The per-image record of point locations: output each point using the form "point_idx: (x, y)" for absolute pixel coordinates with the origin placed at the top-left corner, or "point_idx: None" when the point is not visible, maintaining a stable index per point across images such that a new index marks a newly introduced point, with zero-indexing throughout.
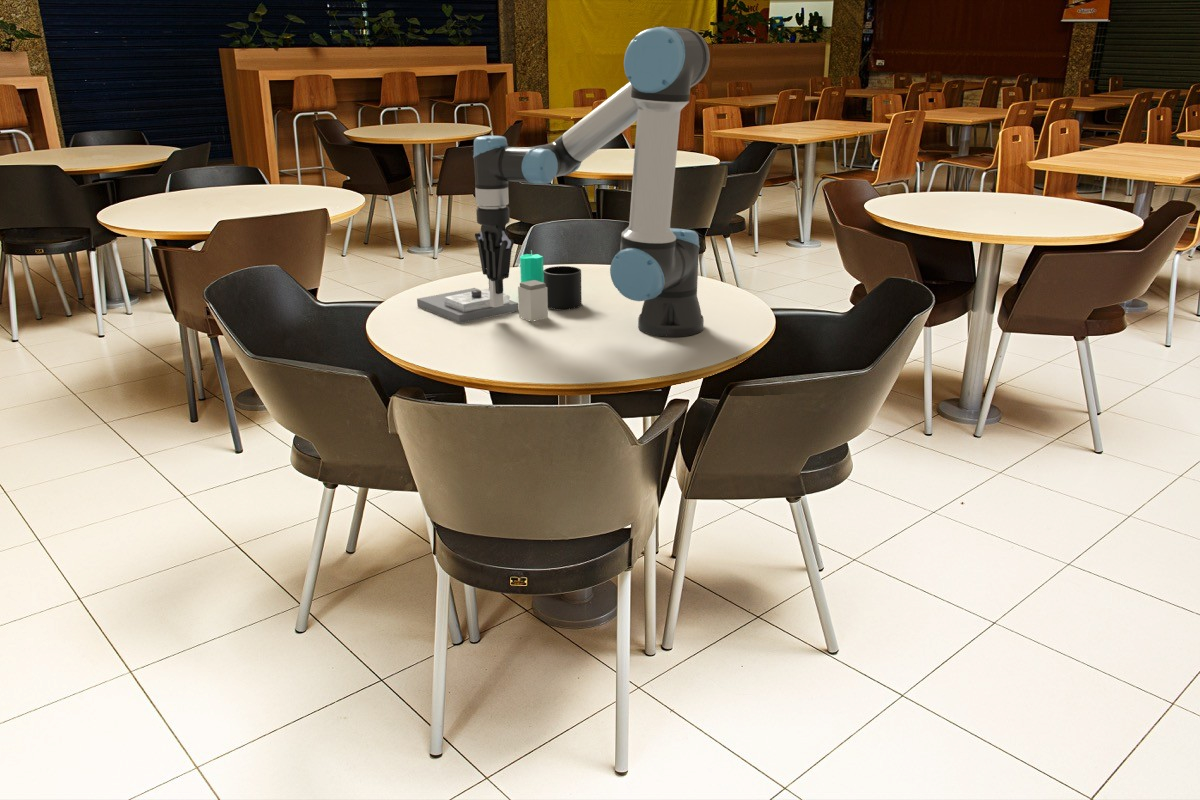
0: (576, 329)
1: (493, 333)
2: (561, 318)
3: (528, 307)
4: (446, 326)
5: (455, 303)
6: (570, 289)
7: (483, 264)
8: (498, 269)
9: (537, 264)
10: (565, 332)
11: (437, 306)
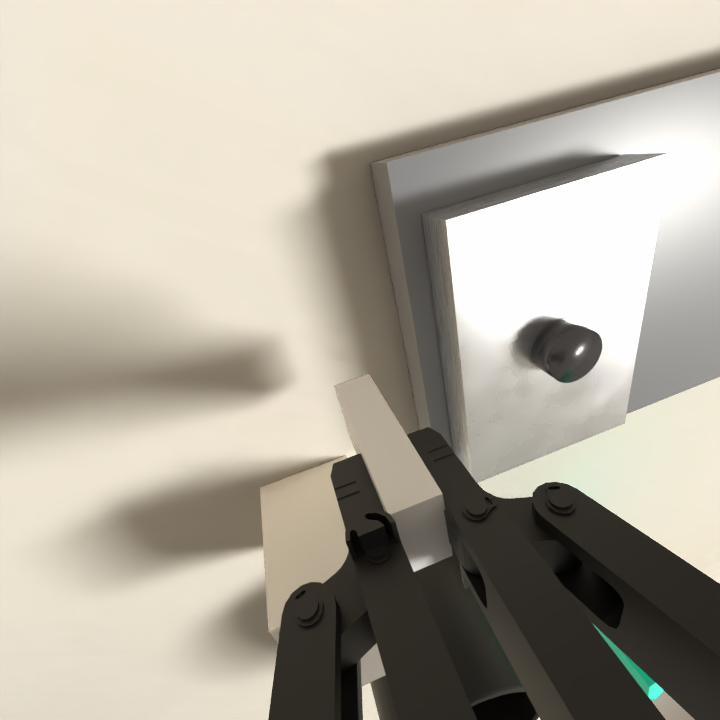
0: (74, 616)
1: (84, 291)
2: (258, 578)
3: (281, 529)
4: (346, 49)
5: (533, 190)
6: (371, 685)
7: (629, 574)
8: (321, 711)
9: (623, 656)
10: (29, 585)
11: (630, 99)
